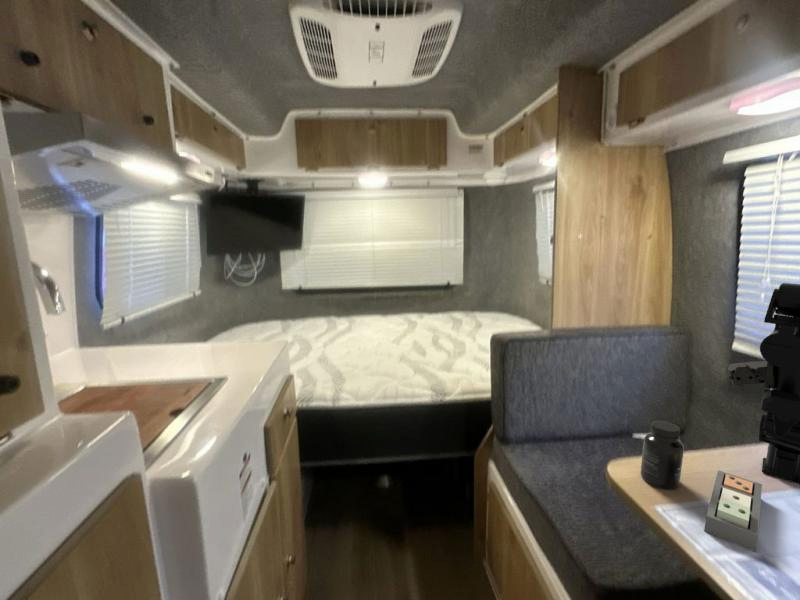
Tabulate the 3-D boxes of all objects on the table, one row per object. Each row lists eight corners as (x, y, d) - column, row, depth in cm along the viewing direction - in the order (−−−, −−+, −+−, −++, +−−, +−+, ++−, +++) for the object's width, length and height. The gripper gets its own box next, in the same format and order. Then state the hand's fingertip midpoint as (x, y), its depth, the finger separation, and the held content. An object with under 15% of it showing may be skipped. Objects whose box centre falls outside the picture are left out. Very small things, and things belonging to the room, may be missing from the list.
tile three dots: (724, 485, 80) (726, 473, 79) (751, 494, 77) (753, 482, 76) (722, 495, 77) (723, 483, 76) (749, 505, 74) (751, 492, 73)
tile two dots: (718, 510, 71) (720, 497, 71) (748, 521, 69) (750, 507, 68) (715, 522, 69) (717, 508, 68) (746, 534, 66) (748, 520, 65)
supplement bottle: (686, 492, 79) (693, 436, 77) (647, 488, 80) (653, 433, 78) (670, 471, 85) (676, 419, 83) (635, 468, 87) (640, 416, 84)
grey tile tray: (716, 483, 81) (718, 470, 81) (759, 498, 77) (762, 484, 76) (704, 531, 69) (706, 515, 69) (755, 551, 65) (757, 535, 64)
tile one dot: (721, 499, 76) (723, 487, 75) (749, 509, 73) (751, 496, 72) (718, 510, 73) (720, 497, 72) (747, 521, 70) (750, 508, 70)
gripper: (738, 335, 84) (728, 405, 87) (730, 358, 70) (718, 439, 73) (815, 345, 76) (800, 421, 79) (821, 373, 63) (804, 463, 66)
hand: (779, 434), depth 75 cm, fingers closed
